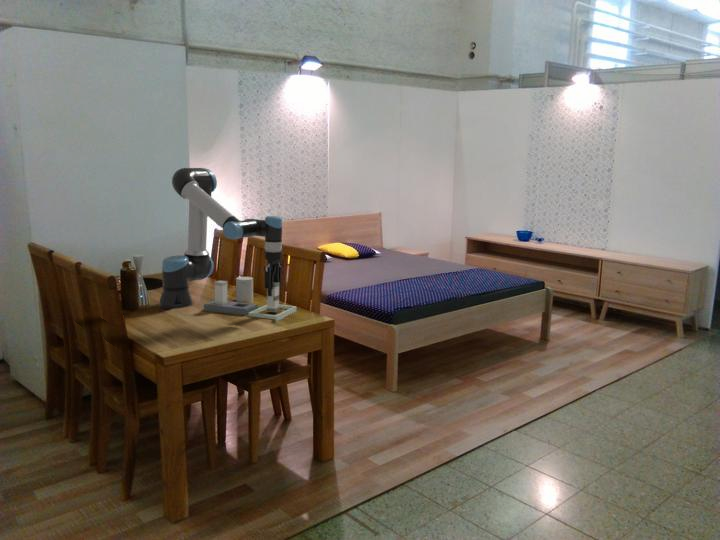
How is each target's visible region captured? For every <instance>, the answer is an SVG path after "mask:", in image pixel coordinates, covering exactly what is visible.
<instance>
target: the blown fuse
mask: <svg viewBox="0 0 720 540" xmlns="http://www.w3.org/2000/svg"><path fill="white" fill-rule="evenodd" d="M280 285H281V284H280V282H273V289H274V303H267V302H266V305H267V309H266V312H271V313H277V312H278V311H280V308H279V305H280V287H279V286H280ZM267 295H268V289H266V296H267Z"/></svg>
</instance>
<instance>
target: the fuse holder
mask: <svg viewBox="0 0 720 540" xmlns="http://www.w3.org/2000/svg"><path fill="white" fill-rule="evenodd" d="M256 309H258V304H256V303H250V302H238V301H233V300H232V301H231V300H227V304H224V305H220V304H215V299H214V300H212V301H207V302H206V303H203V311H208V312H215V313H221V314H229V315H239V316H245V317H247V316H248V313H249V312H251V311H253V310H256Z"/></svg>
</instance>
